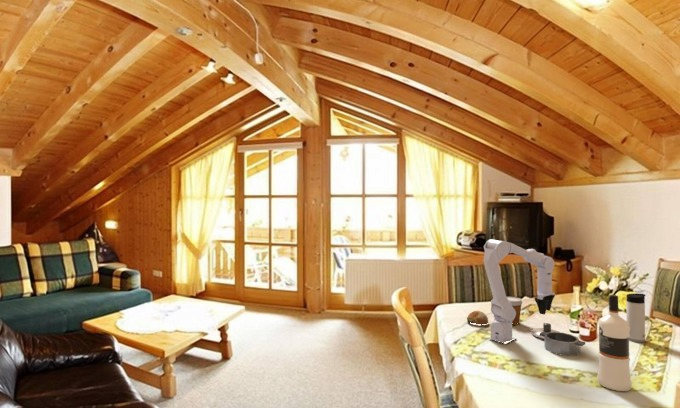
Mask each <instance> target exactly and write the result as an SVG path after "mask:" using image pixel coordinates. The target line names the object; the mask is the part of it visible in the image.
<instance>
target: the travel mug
mask: <svg viewBox="0 0 680 408" xmlns="http://www.w3.org/2000/svg"><path fill="white" fill-rule="evenodd" d="M645 297H646V294H644V293H628V294H626V299H625V301H626V306H625V307H626V321H627V322H628V324H629V326H630V331H629V334H630V336H629V342H634V343H641V344H642V343H645V342H646V301H645Z"/></svg>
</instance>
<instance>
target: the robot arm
mask: <svg viewBox="0 0 680 408" xmlns="http://www.w3.org/2000/svg"><path fill="white" fill-rule="evenodd" d="M483 250H484V254H483V255H484V256H483V266H484V268H485V273H486V276H487V280H488V284H489V288H490V291H491V295H492V299H491V300H490V312H491V314H492V315H493V318H494V319H493V322H492V323H491V325H490V338H491V339H493V340H496V341H500V342H503V343H504V342H506V341H510V340H512V339H514V338H515V339H516V340H517V338H516V337H513V325H512V321H513V320H514V318H515V316H516V311H515V309H514V308H513V307H512V304H511V302H510V301H509V300H508V299H507V297H508V296H507V294H506V290H505V286H504V283H503V279H502V275H501V272H500V266H499V262H501V261H502V260H503V259H504V258H505V257H506V256H507V255H508V254H512V253H513V254H515V255H517V256H520V257H522V259H523V260H524V261H525V262H526V263H527V262H528V263H530V264H532V265H533V266H535V267H536V268H537V270H536V271H537V291H536V294H537V296H535V297H534V301H535V303H536V305H537V308H538V311H539V312H538V313H539V315H546V313H547V311H551V309H552V304H553V300H554V299H555V297H556V293H555V292H554V291H553V271H554V268H555V265H556V262H555V261H554V259H553V257H551V256H548V255H545V254H544V253H542V252H538V251H537V250H536V249H535V248H528V249H525V248H523V247H521V246H518V245H516V244H515V243H513V242H509V241H506V240H500V239H499V240H497V239H493V238H491V239H488V240H487V241H486V242H485V244H484V245H483ZM512 337H513V338H512Z"/></svg>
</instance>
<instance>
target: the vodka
mask: <svg viewBox="0 0 680 408" xmlns="http://www.w3.org/2000/svg"><path fill="white" fill-rule="evenodd" d="M597 322H598V359H599V360H598V362H599V363H598V370H597V371H598V372H597V377H596V379H597V382H598V383H599V385H601V386H602V387H604V388H605V387H606V388H605V389H608V388H609V389H608V390H610V389H612V390H611V391H614V390H616V391H615V392H620V391H625V392H629V391H631V390H632V388H633V382H632V380H631V371H630V361H631V358H630V340H629V336H630V334H629V331H630V326H629V324H628V322H627V320H625V319H624V318H623V317H621V316H620V314H619V296H618V295H616V294H609V295H608V314H607V315H603V316H602V317H600V318H599V319H598V321H597Z"/></svg>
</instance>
